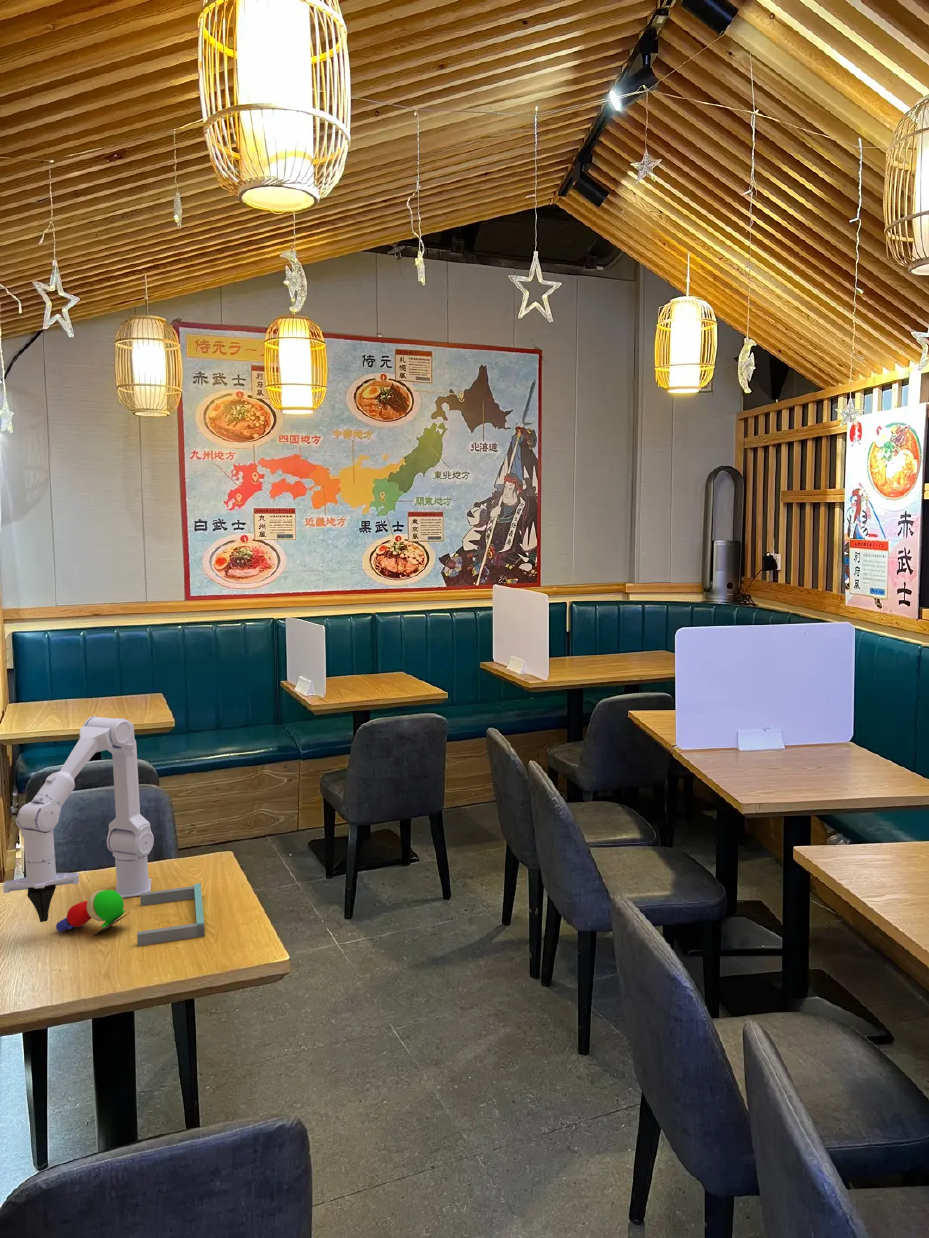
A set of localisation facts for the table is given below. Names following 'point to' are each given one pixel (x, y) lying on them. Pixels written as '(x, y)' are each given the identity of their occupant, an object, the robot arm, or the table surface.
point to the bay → (176, 931)
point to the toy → (95, 910)
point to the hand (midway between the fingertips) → (44, 919)
